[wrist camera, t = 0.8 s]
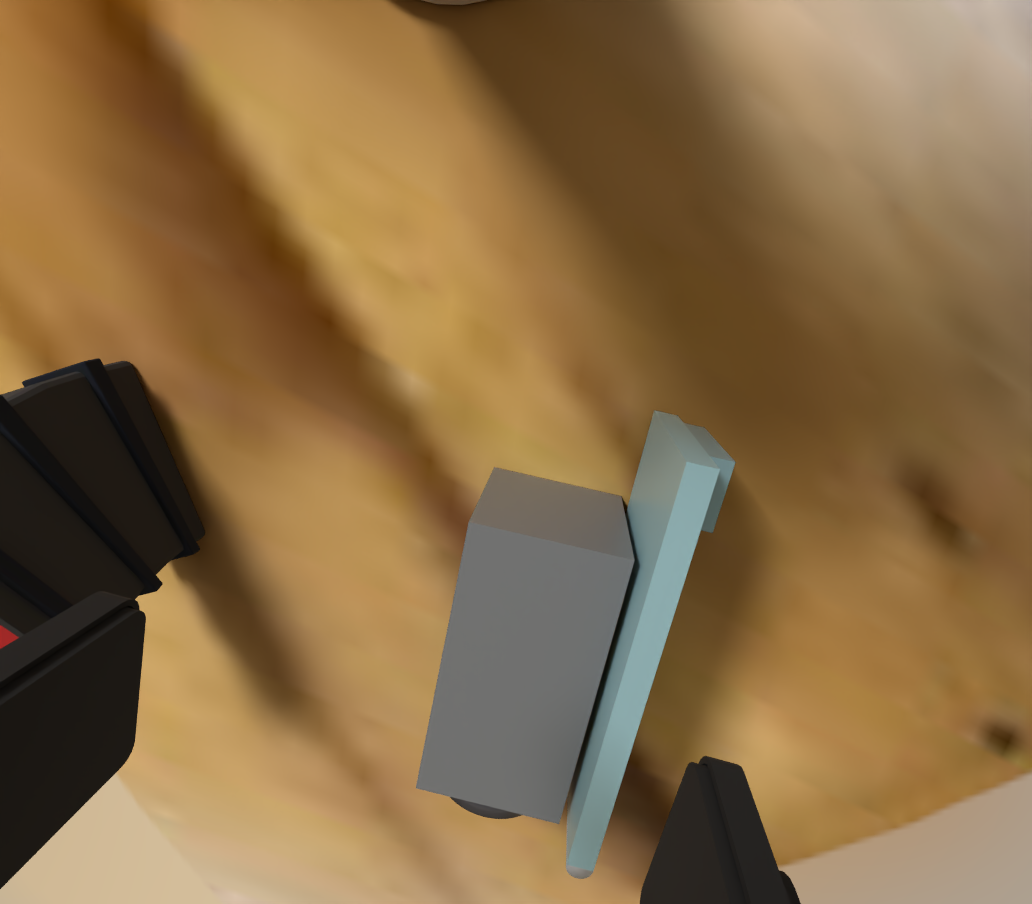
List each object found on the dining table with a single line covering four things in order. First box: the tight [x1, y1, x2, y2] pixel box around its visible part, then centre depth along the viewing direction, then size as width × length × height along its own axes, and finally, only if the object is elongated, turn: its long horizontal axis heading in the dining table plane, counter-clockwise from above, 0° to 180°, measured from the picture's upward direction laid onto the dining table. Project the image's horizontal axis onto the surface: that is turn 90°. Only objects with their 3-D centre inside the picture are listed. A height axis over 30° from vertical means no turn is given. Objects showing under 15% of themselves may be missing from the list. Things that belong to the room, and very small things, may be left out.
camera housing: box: [416, 467, 635, 824], centre depth 31 cm, size 15×7×8 cm, turn 168°
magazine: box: [0, 359, 205, 649], centre depth 30 cm, size 4×13×15 cm, turn 16°
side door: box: [566, 410, 735, 879], centre depth 29 cm, size 20×2×10 cm, turn 168°
